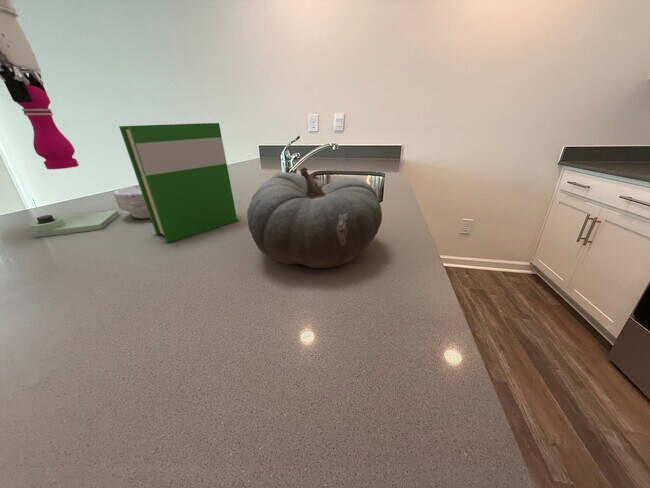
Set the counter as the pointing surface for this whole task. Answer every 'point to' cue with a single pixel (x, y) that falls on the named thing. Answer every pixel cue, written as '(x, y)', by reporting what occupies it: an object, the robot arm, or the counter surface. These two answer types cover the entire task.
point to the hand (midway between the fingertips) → (33, 102)
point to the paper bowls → (132, 201)
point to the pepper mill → (47, 131)
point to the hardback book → (181, 176)
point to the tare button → (45, 219)
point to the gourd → (313, 219)
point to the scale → (73, 223)
